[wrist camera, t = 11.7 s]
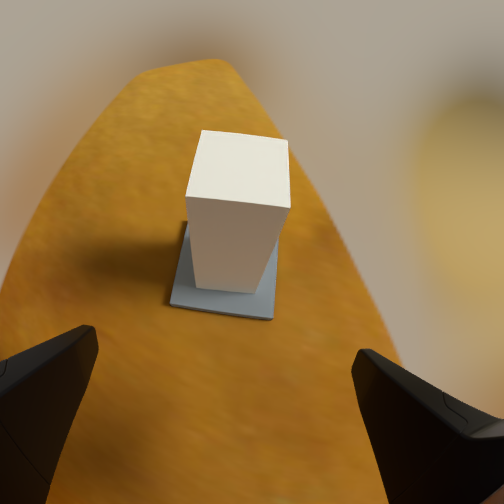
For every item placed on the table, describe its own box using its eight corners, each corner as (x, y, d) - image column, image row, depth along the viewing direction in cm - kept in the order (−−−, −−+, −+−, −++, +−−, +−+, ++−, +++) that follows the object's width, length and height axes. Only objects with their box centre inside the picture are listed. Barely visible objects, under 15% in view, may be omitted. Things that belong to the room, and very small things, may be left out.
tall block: (254, 293, 20) (290, 207, 11) (196, 288, 19) (185, 196, 11) (257, 242, 22) (287, 140, 13) (203, 237, 21) (202, 130, 12)
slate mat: (271, 320, 20) (273, 318, 19) (170, 305, 19) (169, 303, 19) (277, 233, 23) (279, 229, 22) (189, 220, 22) (189, 216, 22)
